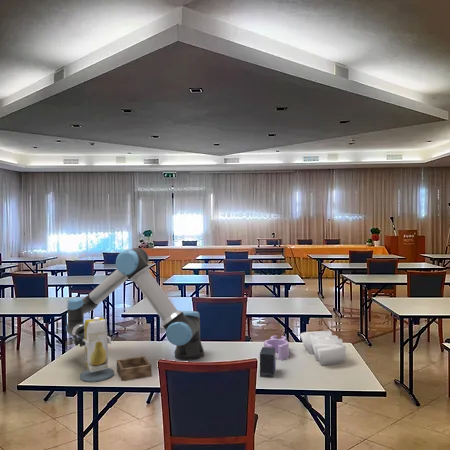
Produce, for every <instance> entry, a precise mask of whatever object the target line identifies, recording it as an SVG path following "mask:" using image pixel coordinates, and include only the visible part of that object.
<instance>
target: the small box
mask: <svg viewBox="0 0 450 450" xmlns="http://www.w3.org/2000/svg"><path fill="white" fill-rule="evenodd" d="M276 356H277V355H276V353H275V348H269V347H264V346H262V348H261V350H260V352H259V377H261V378H274V377H275V372H276V367H277V366H276V365H277V364H276V363H277V361H276V359H277V358H276Z"/></svg>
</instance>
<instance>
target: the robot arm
mask: <svg viewBox="0 0 450 450" xmlns="http://www.w3.org/2000/svg"><path fill="white" fill-rule="evenodd" d="M148 263H149V254H148V253H147V252H146V250H144V249H143V248H140V247H134V248H130V249H129V248H128V249H124V250H123V251H120V253H118V254H117V256H116V259H115V267H116V269H115V270H114V271H113V272H112V273H110V275H109V276H108V277H107V278H104V280H103V281H102V282H100V283H99V284H98V285H97V286H96V287H95V288H94V289H93V290H91V292H90V293H88V294H87V295H86V296H85V297H84V298H82V297H73V298H72V297H71V298H69V299H68V300H67V306H66V307H67V308H66V309H67V320H68V321H67V324H66V326H65V331H66V333H67V334H68V335H69V336H71V337H72V341H73V343H74V345H75V346H79V347H81V348H82V347H84V348H85V347H86V348H89V342H88V341H87V340H85V339H84V325H85V321H84V317H85V316H84V315H85V314H86V313H89V312H92V311H95V309H96V308H97V307H98V305H100V304H101V303H102V301H104V300H105V299H106V298H107V297H109V296H110V295H111V294H112V293H113V292H114V291H115V290H116V289H117V288H119V287H120V286H121V285H122V284H124V283H125V282H126V281H127V280H129V281H131V282H134V284H135V285H137V287H138V289H139V290H140V292H141V293H142V294H143V296H144V297H145V298H146V300H147V301H148V302H149V304H150V305H151V307H152V308H153V309H154V311H155V313H156V314H157V315H158V316H159V318H160V319H161V320H162V328H163V329H164V331H166V332H165V336H166V339H167V340H168V342H169V343H171V344H172V345H174V346H175V350H174V358H175V359H177V360H181V361H195V360H199V359H201V358H203V357H204V356H205V351H204V347H203V345H202V342H201V321H200V319H201V317H200V312H199V311H196V310H195V311H194V310H184V311H182V310H178V309H177V308H176V307H175V305H174V303H172V301H171V299H170V298H169V297H168V296H167V293H165V292H164V290H163V289H162V287H161V286H160V285H159V283H158V282H157V280H156V279H155V278H154V276H153V275H152V273H151V272H150V265H149V264H148ZM111 335H112V334H111V333H110V332H107V342H108V344H109V345H111V344H112V337H111Z"/></svg>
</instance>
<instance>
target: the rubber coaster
mask: <svg viewBox="0 0 450 450" xmlns="http://www.w3.org/2000/svg"><path fill="white" fill-rule="evenodd" d="M114 375H115V370H114V369H113V368H109V367H107V369H104V370H99V371H95V372H90V371H89V370H88V369H87V370H85V371H83V372H81V373H80V375H79V379H80V380H81V381H83V382H86V383H98V382H103V381H107V380H110V379H111V378H113V377H114Z"/></svg>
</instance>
